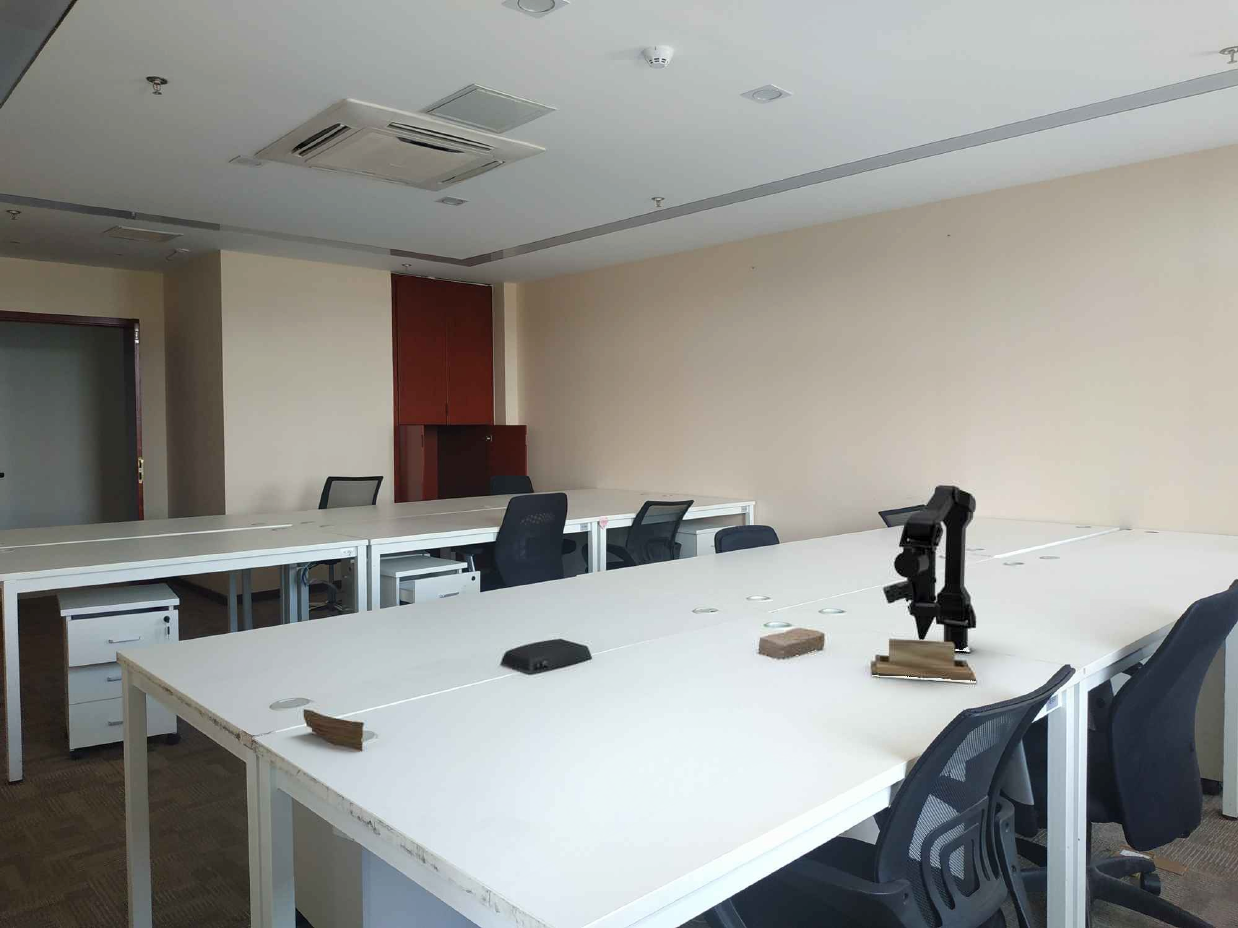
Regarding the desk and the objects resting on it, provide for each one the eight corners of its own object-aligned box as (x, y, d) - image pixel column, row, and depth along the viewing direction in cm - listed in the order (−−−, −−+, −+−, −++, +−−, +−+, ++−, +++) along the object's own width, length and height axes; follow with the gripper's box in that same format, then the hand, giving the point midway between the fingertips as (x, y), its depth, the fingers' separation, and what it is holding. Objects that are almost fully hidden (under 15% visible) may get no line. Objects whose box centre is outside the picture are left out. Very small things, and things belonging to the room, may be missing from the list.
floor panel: (870, 664, 204) (871, 654, 203) (970, 671, 198) (970, 660, 198) (871, 676, 194) (872, 665, 194) (976, 684, 188) (976, 672, 188)
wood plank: (368, 748, 152) (368, 721, 152) (359, 752, 150) (359, 724, 150) (312, 732, 160) (311, 706, 160) (302, 736, 158) (302, 709, 158)
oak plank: (888, 663, 201) (889, 638, 201) (952, 667, 197) (952, 642, 197) (889, 667, 197) (889, 642, 197) (954, 672, 194) (954, 645, 194)
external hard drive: (498, 666, 205) (497, 649, 205) (560, 651, 219) (560, 635, 219) (531, 677, 196) (531, 660, 196) (594, 661, 209) (594, 644, 209)
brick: (782, 661, 208) (782, 642, 208) (756, 654, 215) (756, 635, 215) (826, 650, 218) (826, 632, 218) (800, 644, 225) (800, 626, 225)
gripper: (883, 564, 207) (883, 628, 208) (887, 577, 189) (886, 647, 190) (932, 565, 204) (931, 630, 205) (940, 579, 186) (939, 650, 187)
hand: (921, 639), depth 197 cm, fingers closed
